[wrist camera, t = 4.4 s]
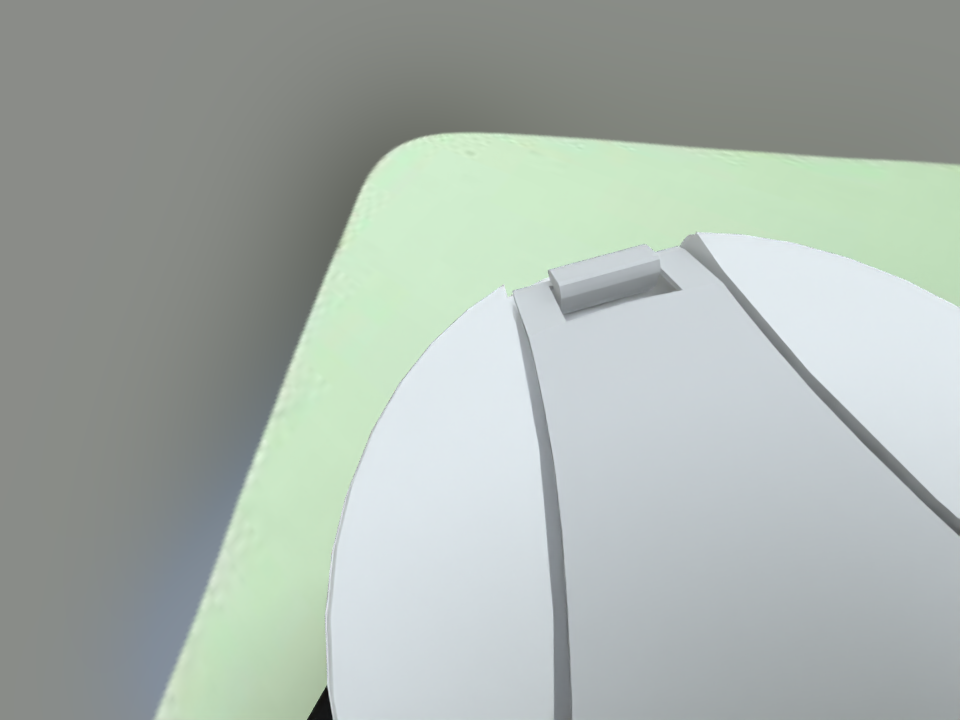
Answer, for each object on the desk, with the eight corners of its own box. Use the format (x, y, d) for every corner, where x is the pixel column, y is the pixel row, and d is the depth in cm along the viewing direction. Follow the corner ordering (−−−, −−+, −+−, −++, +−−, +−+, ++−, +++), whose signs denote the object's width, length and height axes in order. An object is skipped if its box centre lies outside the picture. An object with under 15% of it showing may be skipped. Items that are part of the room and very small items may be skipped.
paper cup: (439, 505, 18) (243, 296, 5) (632, 449, 18) (888, 126, 6) (496, 763, 14) (325, 2080, 2) (734, 686, 15) (2063, 1274, 2)
